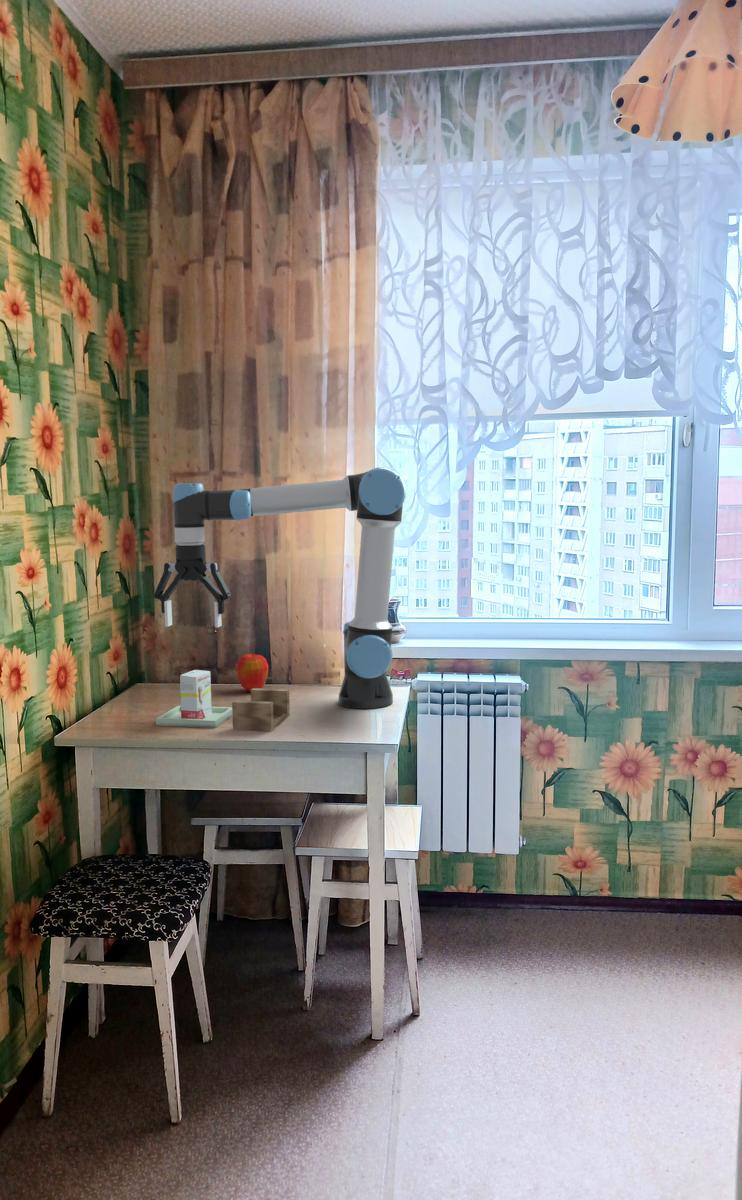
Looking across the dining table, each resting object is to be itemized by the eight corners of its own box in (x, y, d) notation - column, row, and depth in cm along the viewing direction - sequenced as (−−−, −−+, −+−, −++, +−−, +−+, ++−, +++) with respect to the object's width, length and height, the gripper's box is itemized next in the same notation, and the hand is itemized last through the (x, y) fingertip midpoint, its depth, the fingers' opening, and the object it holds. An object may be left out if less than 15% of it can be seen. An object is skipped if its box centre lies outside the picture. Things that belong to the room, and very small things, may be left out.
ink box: (197, 722, 234) (195, 676, 232) (180, 720, 235) (178, 675, 234) (212, 714, 242) (211, 670, 241) (196, 712, 243) (194, 669, 242)
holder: (289, 715, 242) (289, 689, 241) (271, 731, 226) (270, 703, 226) (253, 713, 244) (253, 688, 243) (232, 729, 228) (232, 702, 228)
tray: (234, 714, 244) (234, 707, 244) (215, 727, 230) (215, 720, 230) (178, 711, 247) (178, 705, 247) (156, 725, 234) (156, 718, 233)
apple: (233, 694, 268) (232, 654, 266) (243, 687, 276) (242, 648, 275) (263, 695, 266) (262, 654, 264) (272, 688, 275) (271, 649, 273)
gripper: (241, 542, 234) (244, 624, 237) (151, 543, 239) (154, 623, 242) (231, 544, 227) (234, 629, 230) (138, 545, 232) (142, 627, 235)
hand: (193, 626), depth 236 cm, fingers open, 13 cm apart
